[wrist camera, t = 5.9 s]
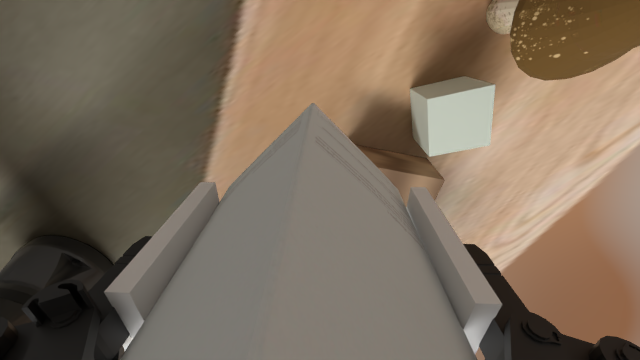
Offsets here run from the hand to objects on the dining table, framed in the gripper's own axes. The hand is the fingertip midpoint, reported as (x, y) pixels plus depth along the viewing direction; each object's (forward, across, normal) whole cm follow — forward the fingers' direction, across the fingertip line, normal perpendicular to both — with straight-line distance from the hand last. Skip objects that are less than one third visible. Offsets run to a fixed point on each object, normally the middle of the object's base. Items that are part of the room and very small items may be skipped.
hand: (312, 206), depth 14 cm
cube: (+20, +14, +1) cm, 24 cm away
